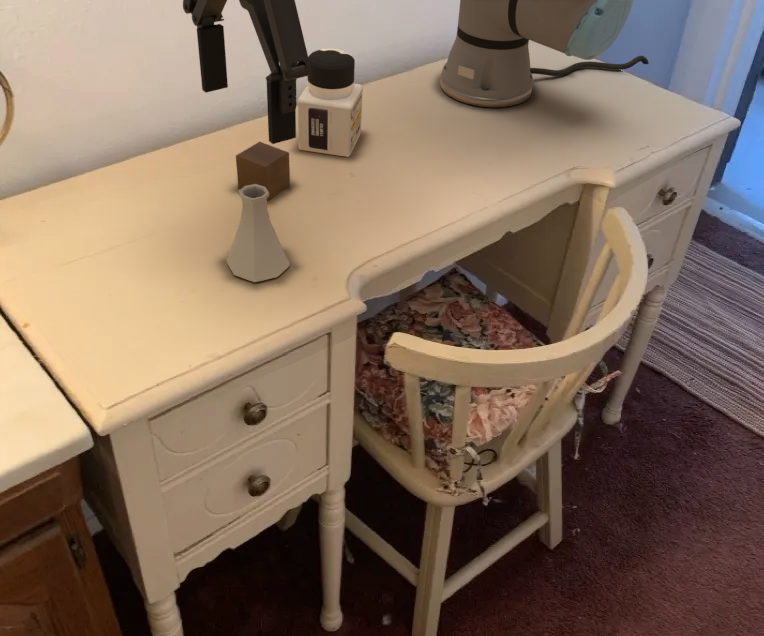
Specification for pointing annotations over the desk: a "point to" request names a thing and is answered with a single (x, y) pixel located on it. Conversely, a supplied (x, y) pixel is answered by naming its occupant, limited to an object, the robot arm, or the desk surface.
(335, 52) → the container
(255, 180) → the walnut block
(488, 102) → the robot arm
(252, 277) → the flask
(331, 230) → the desk surface
